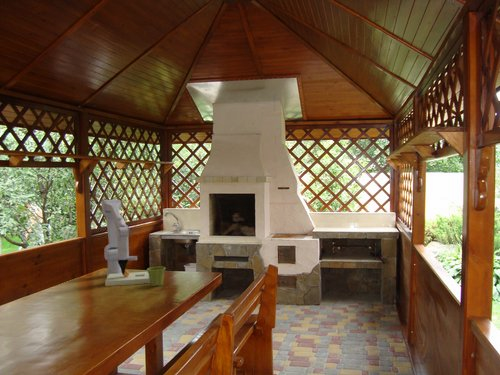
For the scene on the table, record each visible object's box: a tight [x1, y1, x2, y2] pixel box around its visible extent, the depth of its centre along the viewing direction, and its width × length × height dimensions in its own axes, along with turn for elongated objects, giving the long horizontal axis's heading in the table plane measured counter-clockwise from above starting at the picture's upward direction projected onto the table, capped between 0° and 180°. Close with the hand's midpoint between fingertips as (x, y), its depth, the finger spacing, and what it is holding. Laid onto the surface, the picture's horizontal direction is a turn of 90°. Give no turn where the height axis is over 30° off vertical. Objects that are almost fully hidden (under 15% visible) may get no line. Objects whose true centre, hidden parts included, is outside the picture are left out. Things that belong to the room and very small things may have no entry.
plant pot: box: [146, 266, 166, 287], centre depth 216 cm, size 9×9×9 cm
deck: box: [104, 271, 150, 287], centre depth 226 cm, size 18×24×4 cm
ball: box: [123, 269, 130, 277], centre depth 225 cm, size 3×3×3 cm
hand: (123, 274), depth 225 cm, fingers closed, pressing on ball
